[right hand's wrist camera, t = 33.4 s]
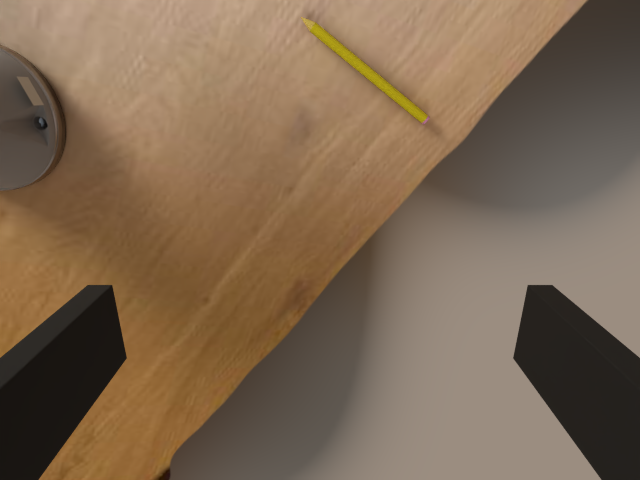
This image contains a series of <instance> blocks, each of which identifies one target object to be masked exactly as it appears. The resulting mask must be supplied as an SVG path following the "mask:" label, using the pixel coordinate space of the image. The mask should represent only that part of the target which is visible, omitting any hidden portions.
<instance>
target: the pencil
mask: <svg viewBox="0 0 640 480" xmlns="http://www.w3.org/2000/svg"><path fill="white" fill-rule="evenodd" d="M301 18H302V17H301ZM302 20H303V21H304V23H305V25H306V26H307V28H308V29H309V31H310V32H311V33H312V34H314V35H315V36H316V37H317V38H319V39H320V40H321V41H322V42H323V43H325V44H326V45H327V46H328V47H329V48H331V49H332V50H333V51H334V52H336V53H337V54H338V55H339V56H340V57H342V58H343V59H344V60H345V61H347V62H348V63H349V64H350V65H351V66H353V67H354V68H355V69H356V70H358V71H359V72H360V73H361V74H362V75H364V76H365V77H366V78H367V79H368V80H370V81H371V82H372V83H373V84H375V85H376V86H377V87H378V88H379V89H381V90H382V91H383V92H384V93H386V94H387V95H388V96H389V97H390V98H392V99H393V100H394V101H395V102H397V103H398V104H399V105H400V106H401V107H403V108H404V109H405V110H406V111H407V112H409V113H410V114H411V115H412V116H414V117H415V118H416V119H417V120H418V121H420V122H421V123H422V124H425V123H426V122H427V121H428V120H429V116H428V115H427V114H425V113H424V112H423V111H422V110H421V109H419V108H418V107H417V106H416V105H415V104H413V103H412V102H411V101H410V100H409V99H407V98H406V97H405V96H404V95H403V94H401V93H400V92H399V91H398V90H397V89H395V88H394V87H393V86H392V85H390V84H389V83H388V82H387V81H386V80H384V79H383V78H382V77H381V76H380V75H378V74H377V73H376V72H375V71H374V70H372V69H371V68H370V67H369V66H368V65H366V64H365V63H364V62H363V61H362V60H360V59H359V58H358V57H357V56H355V55H354V54H353V53H352V52H351V51H349V50H348V49H347V48H346V47H345V46H343V45H342V44H341V43H340V42H339V41H337V40H336V39H335V38H334V37H333V36H331V35H330V34H329V33H328V32H327V31H325V30H324V29H323V28H322V27H321V26H319V25H318V24H317V23H316V22H313V21H310V20H308V19H305V18H302Z"/></svg>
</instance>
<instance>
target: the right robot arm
mask: <svg viewBox="0 0 640 480" xmlns="http://www.w3.org/2000/svg"><path fill="white" fill-rule="evenodd" d="M65 137H66V129H65V121H64V116H63V112H62V109H61V106H60V103H59V101H58V99H57V97H56V95H55V93H54V91H53V89H52V88H51V86H50V85H49V83H48V82H47V80H46V79H45V78H44V77H43V75H42V74H41V73H40V72H39V71H38V70H37V69H36V68H35V67H34V66H33V65H32V64H31V63H30V62H29V61H27V60H26V59H25V58H23V57H22V56H21V55H19V54H18V53H16V52H14V51H13V50H11V49H9V48H7V47H4V46H2V45H0V191H5V190H13V189H18V188H21V187H24V186H27V185H30V184H33V183H36V182H38V181H40V180H41V179H43V178H45V177H46V176H47V175H48V174H49V173H50V172H51V171H52V170H53V169H54V168H55V167H56V165H57V164H58V162H59V160H60V158H61V156H62V153H63V150H64V145H65ZM126 358H127V357H126V352H125V347H124V342H123V337H122V332H121V327H120V322H119V317H118V312H117V307H116V302H115V297H114V292H113V287H112V285H87V286H86V287H85V288H84V289H83V290H81V291H80V292H79V293H78V294H77V295H75V296H74V297H73V298H72V299H71V300H69V301H68V302H67V303H66V304H65V305H63V306H62V307H61V308H60V309H59V310H57V311H56V312H55V313H54V314H53V315H51V316H50V317H49V318H48V319H47V320H45V321H44V322H43V323H42V324H41V325H39V326H38V327H37V328H36V329H35V330H33V331H32V332H31V333H30V334H29V335H27V336H26V337H25V338H24V339H23V340H21V341H20V342H19V343H18V344H16V345H15V346H14V347H13V348H12V349H10V350H9V351H8V352H7V353H6V354H4V355H3V356H2V357H1V358H0V480H39V478H40V477H41V475H42V474H43V473H44V471H45V470H46V469H47V467H48V466H49V464H50V463H51V462H52V460H53V459H54V458H55V456H56V455H57V453H58V452H59V451H60V449H61V448H62V447H63V445H64V444H65V442H66V441H67V440H68V438H69V437H70V436H71V434H72V433H73V431H74V430H75V429H76V427H77V426H78V424H79V423H80V422H81V420H82V419H83V418H84V416H85V415H86V413H87V412H88V411H89V409H90V408H91V407H92V405H93V404H94V402H95V401H96V400H97V398H98V397H99V396H100V394H101V393H102V391H103V390H104V389H105V387H106V386H107V385H108V383H109V382H110V380H111V379H112V378H113V376H114V375H115V374H116V372H117V371H118V369H119V368H120V367H121V365H122V364H123V363H124V361H125V360H126ZM513 358H514V360H515V361H516V363H517V364H518V365H519V367H520V368H521V369H522V371H523V372H524V374H525V375H526V376H527V378H528V379H529V380H530V382H531V383H532V385H533V386H534V387H535V389H536V390H537V391H538V393H539V394H540V396H541V397H542V398H543V400H544V401H545V402H546V404H547V405H548V407H549V408H550V409H551V411H552V412H553V413H554V415H555V416H556V418H557V419H558V420H559V422H560V423H561V424H562V426H563V427H564V429H565V430H566V431H567V433H568V434H569V436H570V437H571V438H572V440H573V441H574V442H575V444H576V445H577V447H578V448H579V449H580V450H581V452H582V453H583V455H584V456H585V458H586V459H587V460H588V462H589V463H590V464H591V466H592V467H593V469H594V470H595V471H596V473H597V474H598V475H599V477H600V478H601V480H640V358H639V357H638V356H637V355H636V354H634V353H633V352H632V351H631V350H630V349H628V348H627V347H626V346H625V345H624V344H622V343H621V342H620V341H619V340H617V339H616V338H615V337H614V336H613V335H611V334H610V333H609V332H608V331H607V330H605V329H604V328H603V327H602V326H601V325H599V324H598V323H597V322H596V321H595V320H593V319H592V318H591V317H590V316H589V315H587V314H586V313H585V312H584V311H583V310H581V309H580V308H579V307H578V306H577V305H575V304H574V303H573V302H572V301H571V300H569V299H568V298H567V297H566V296H565V295H563V294H562V293H561V292H560V291H559V290H557V289H556V288H555V287H554V286H553V285H528V287H527V292H526V297H525V302H524V307H523V312H522V317H521V322H520V327H519V332H518V337H517V342H516V347H515V352H514V357H513Z"/></svg>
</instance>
